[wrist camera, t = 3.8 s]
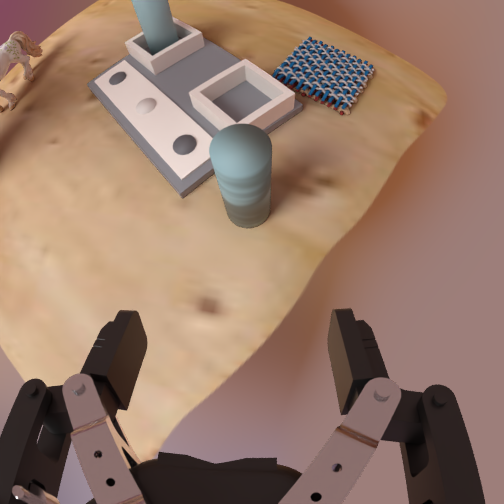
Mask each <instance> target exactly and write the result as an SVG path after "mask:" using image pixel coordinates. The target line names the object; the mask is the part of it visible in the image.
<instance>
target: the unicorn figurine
mask: <svg viewBox="0 0 504 504" xmlns="http://www.w3.org/2000/svg"><path fill="white" fill-rule="evenodd" d="M34 43H36V41H31V40H30V38H29V37H28V36H27V35H26V34H23V32H21V31H17V32H14V33H13V34H11V36H10V38H9V40H8V41H7V42H5V43H4V44H3V45H1V46H0V81H1V80H2V79H3V77H4V76H5V74H6V72H7V70H8V67H9V65H10V63H16V62H18V63H21V64H22V66H23V67H24V79H26V78H28V80H30V81H31V82H33V81H34V79H35V76H34V74H33V72H32V68H31V66H30V64H29V61H30V57H29V56H25V55H22V54H21V48H22V49H23V50H24V51H26V52H27V54H28V55H31V56H33V57H40V56H42V54H41V53H42V49H41V48H40V47H41V46H37V45H35V44H34ZM0 96H1V97H5V98H6V99H7V100H8V102H9V109H10V110H12V109H13V108H14V107H15V103H14V102H13V101H15V100H17V98H16V97H14V94H12V93H6V92H5V91H4V90H1V89H0ZM2 111H3V107H2V106H0V112H2Z"/></svg>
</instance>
